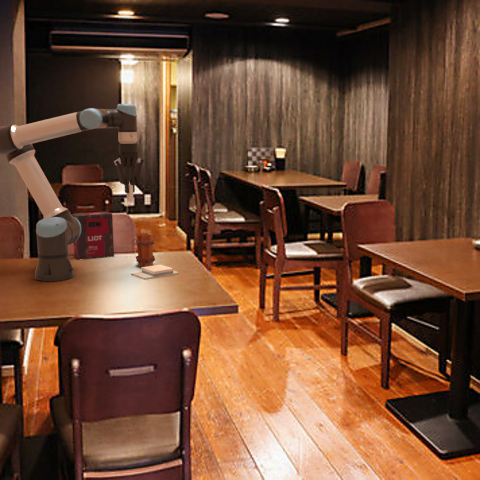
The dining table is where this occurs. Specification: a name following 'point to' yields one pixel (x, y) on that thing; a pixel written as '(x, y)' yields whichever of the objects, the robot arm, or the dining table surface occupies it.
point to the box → (94, 236)
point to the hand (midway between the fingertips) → (130, 200)
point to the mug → (145, 249)
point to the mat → (146, 276)
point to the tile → (157, 270)
